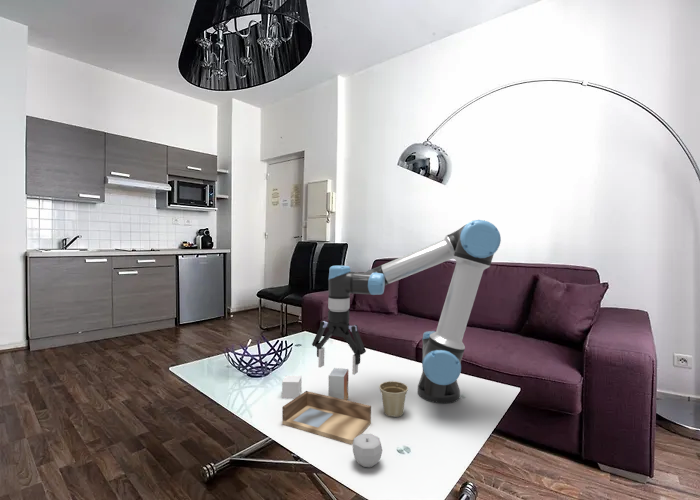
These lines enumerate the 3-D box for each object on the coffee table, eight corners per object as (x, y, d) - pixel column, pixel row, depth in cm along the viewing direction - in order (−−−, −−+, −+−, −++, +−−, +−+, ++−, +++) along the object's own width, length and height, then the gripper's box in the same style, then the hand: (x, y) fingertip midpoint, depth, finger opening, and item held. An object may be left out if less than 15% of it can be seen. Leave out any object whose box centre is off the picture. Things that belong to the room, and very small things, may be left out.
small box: (344, 407, 118) (344, 376, 118) (328, 406, 119) (328, 375, 119) (348, 397, 126) (348, 368, 126) (333, 396, 127) (333, 367, 127)
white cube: (285, 391, 131) (285, 375, 131) (301, 391, 131) (301, 375, 131) (282, 398, 125) (282, 381, 125) (298, 398, 125) (298, 382, 125)
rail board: (370, 423, 108) (370, 405, 108) (352, 444, 96) (352, 425, 96) (306, 406, 119) (306, 390, 118) (282, 424, 107) (282, 406, 107)
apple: (346, 468, 86) (346, 442, 86) (357, 451, 93) (357, 426, 93) (377, 476, 83) (378, 449, 83) (386, 457, 90) (386, 432, 90)
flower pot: (400, 423, 108) (401, 395, 108) (374, 415, 113) (374, 388, 113) (412, 410, 116) (412, 385, 116) (386, 403, 121) (386, 379, 121)
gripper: (375, 311, 120) (374, 372, 120) (314, 304, 131) (313, 360, 131) (366, 315, 113) (365, 380, 113) (303, 307, 124) (302, 366, 125)
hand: (337, 369), depth 122 cm, fingers open, 13 cm apart
